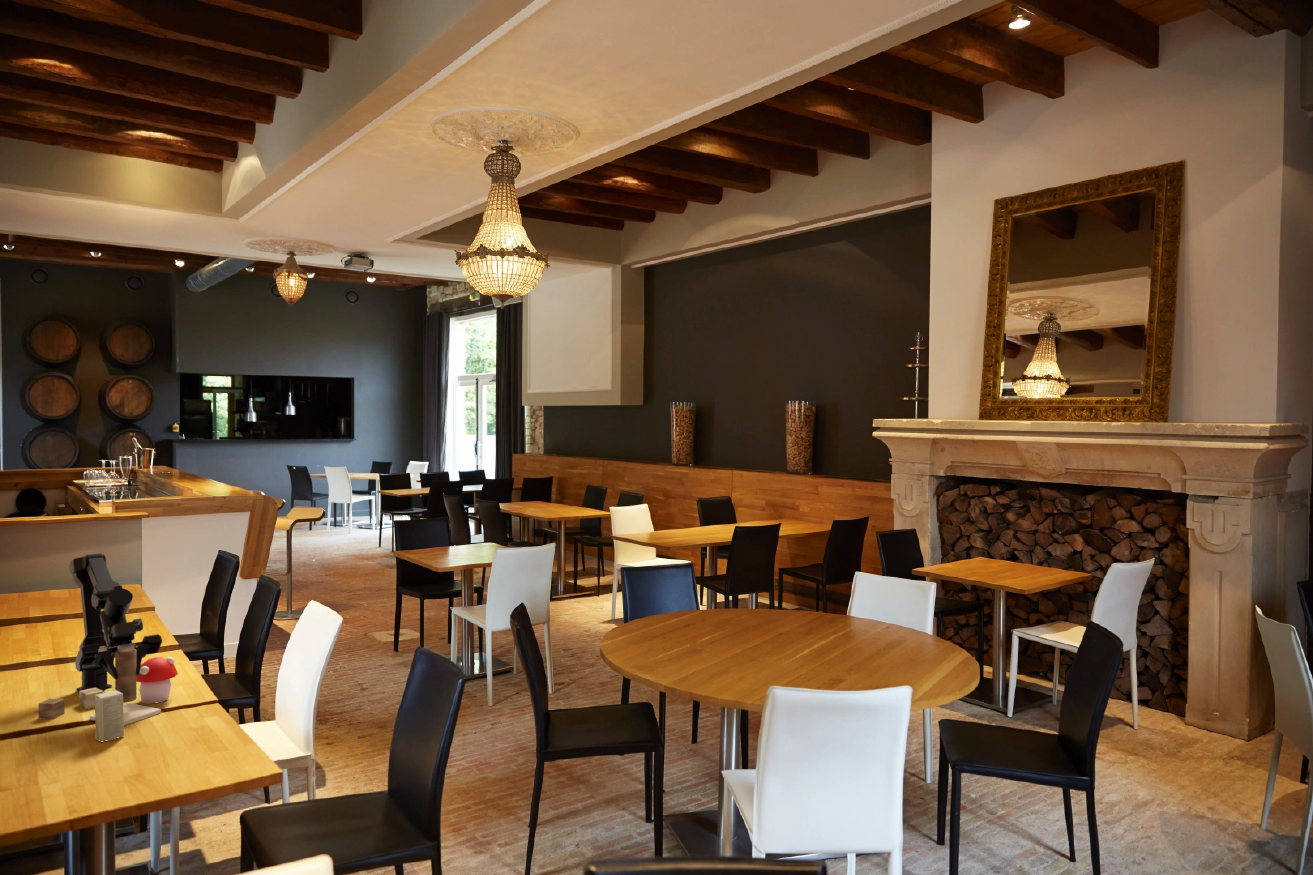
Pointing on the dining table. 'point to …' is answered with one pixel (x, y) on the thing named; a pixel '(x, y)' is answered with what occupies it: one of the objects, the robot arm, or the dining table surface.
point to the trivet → (135, 713)
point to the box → (109, 715)
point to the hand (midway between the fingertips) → (127, 676)
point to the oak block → (88, 697)
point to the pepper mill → (126, 671)
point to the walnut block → (51, 708)
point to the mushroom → (156, 679)
